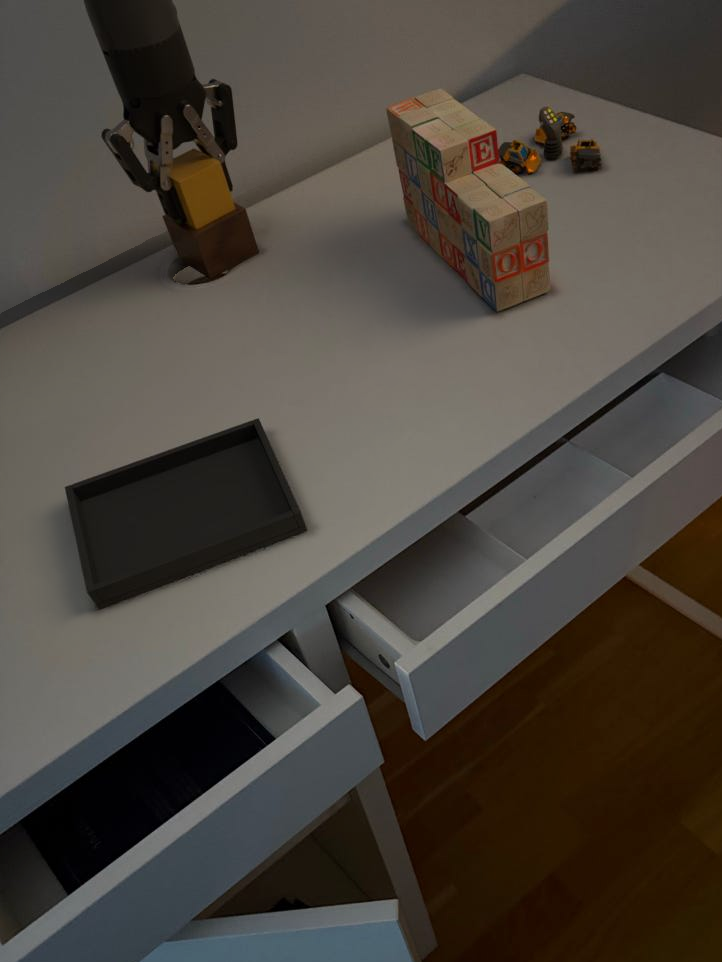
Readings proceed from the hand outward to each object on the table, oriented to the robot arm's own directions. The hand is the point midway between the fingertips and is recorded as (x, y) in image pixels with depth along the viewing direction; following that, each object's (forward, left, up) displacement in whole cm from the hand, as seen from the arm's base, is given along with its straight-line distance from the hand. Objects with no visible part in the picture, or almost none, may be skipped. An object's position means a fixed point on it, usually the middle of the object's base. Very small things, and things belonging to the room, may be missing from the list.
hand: (202, 208), depth 98 cm
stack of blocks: (+24, -16, -6) cm, 29 cm away
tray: (-12, -39, -5) cm, 41 cm away
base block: (0, 0, -5) cm, 5 cm away
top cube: (0, 0, 0) cm, 0 cm away
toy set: (+40, -3, -6) cm, 41 cm away
